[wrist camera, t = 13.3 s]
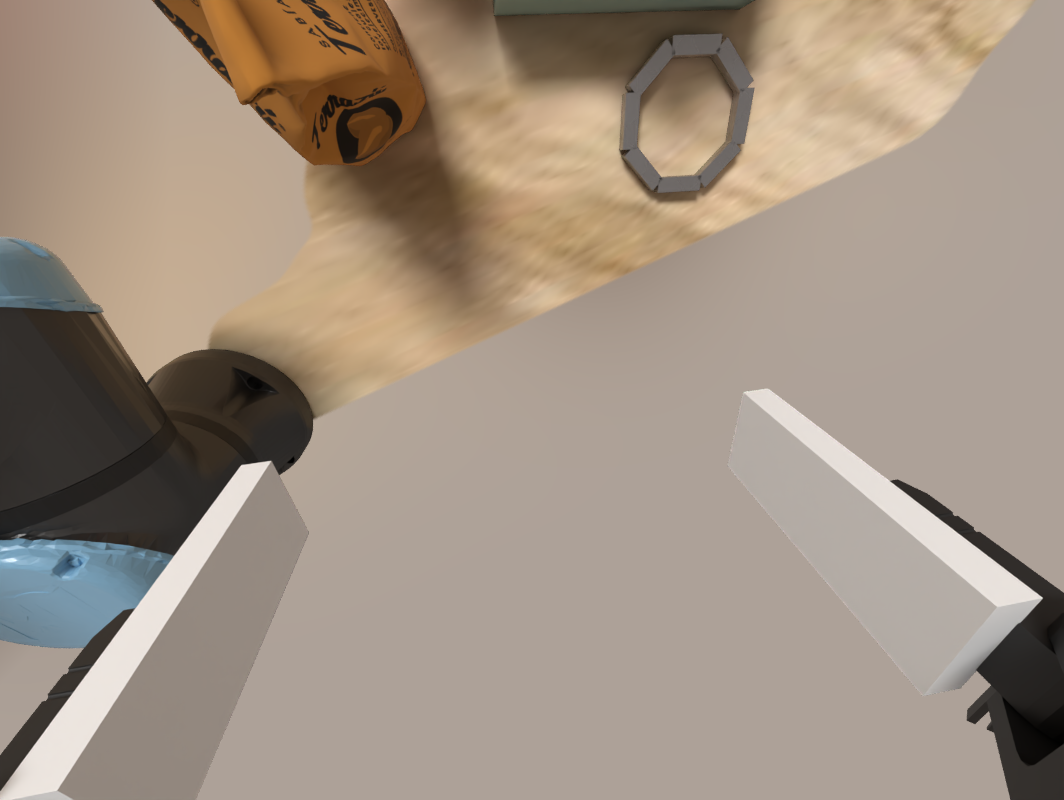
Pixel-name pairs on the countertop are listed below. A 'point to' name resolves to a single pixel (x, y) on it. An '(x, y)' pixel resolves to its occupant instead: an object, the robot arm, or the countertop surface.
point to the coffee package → (311, 69)
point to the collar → (738, 120)
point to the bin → (609, 6)
